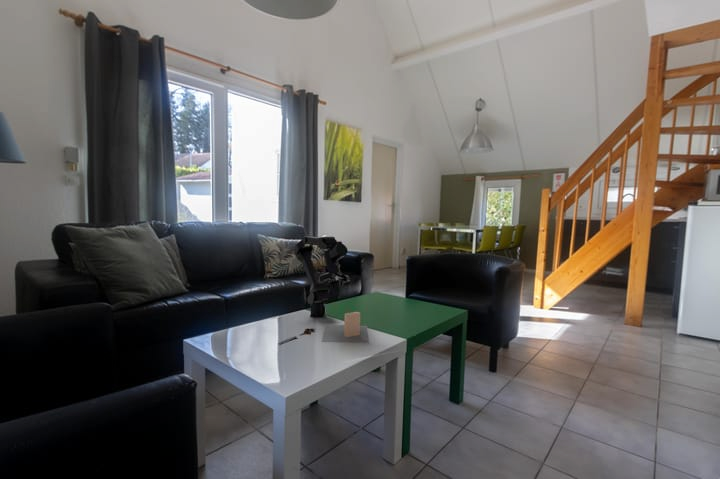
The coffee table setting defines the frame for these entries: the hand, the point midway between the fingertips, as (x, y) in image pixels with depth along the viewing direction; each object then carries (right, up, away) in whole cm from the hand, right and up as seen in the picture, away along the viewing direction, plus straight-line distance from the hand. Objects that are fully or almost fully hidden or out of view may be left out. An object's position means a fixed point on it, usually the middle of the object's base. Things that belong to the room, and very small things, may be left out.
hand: (338, 297), depth 152 cm
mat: (+3, -13, -10) cm, 17 cm away
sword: (-16, -14, -16) cm, 27 cm away
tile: (+6, -13, -12) cm, 19 cm away
